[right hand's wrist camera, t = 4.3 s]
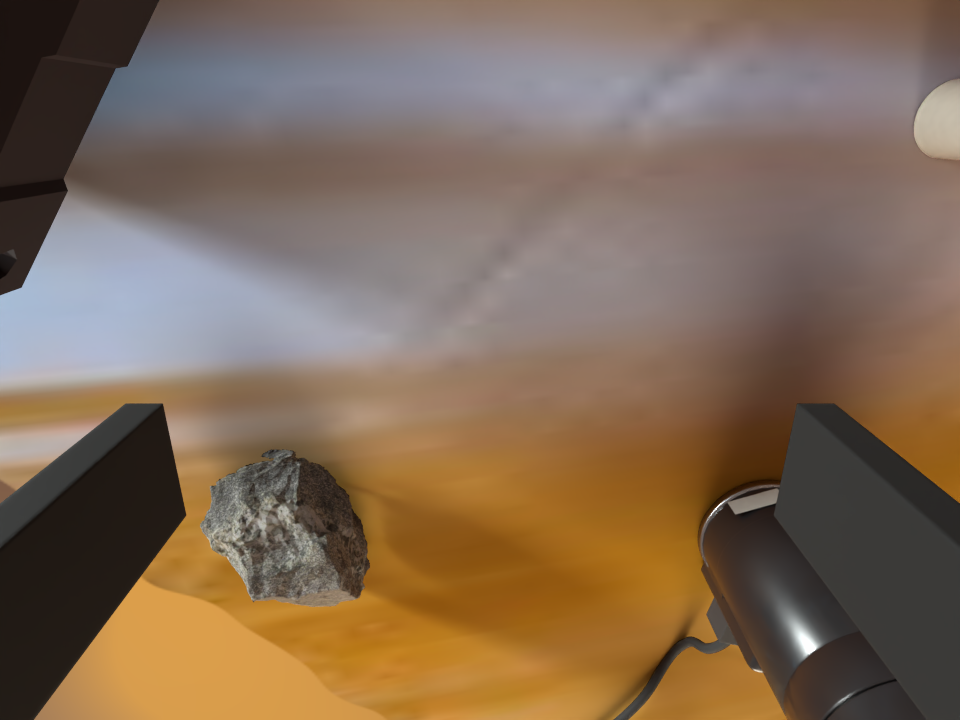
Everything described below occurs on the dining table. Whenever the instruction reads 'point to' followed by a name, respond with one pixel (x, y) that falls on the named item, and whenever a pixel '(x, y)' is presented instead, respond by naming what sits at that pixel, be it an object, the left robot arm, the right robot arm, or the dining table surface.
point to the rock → (288, 532)
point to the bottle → (940, 122)
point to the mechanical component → (51, 106)
